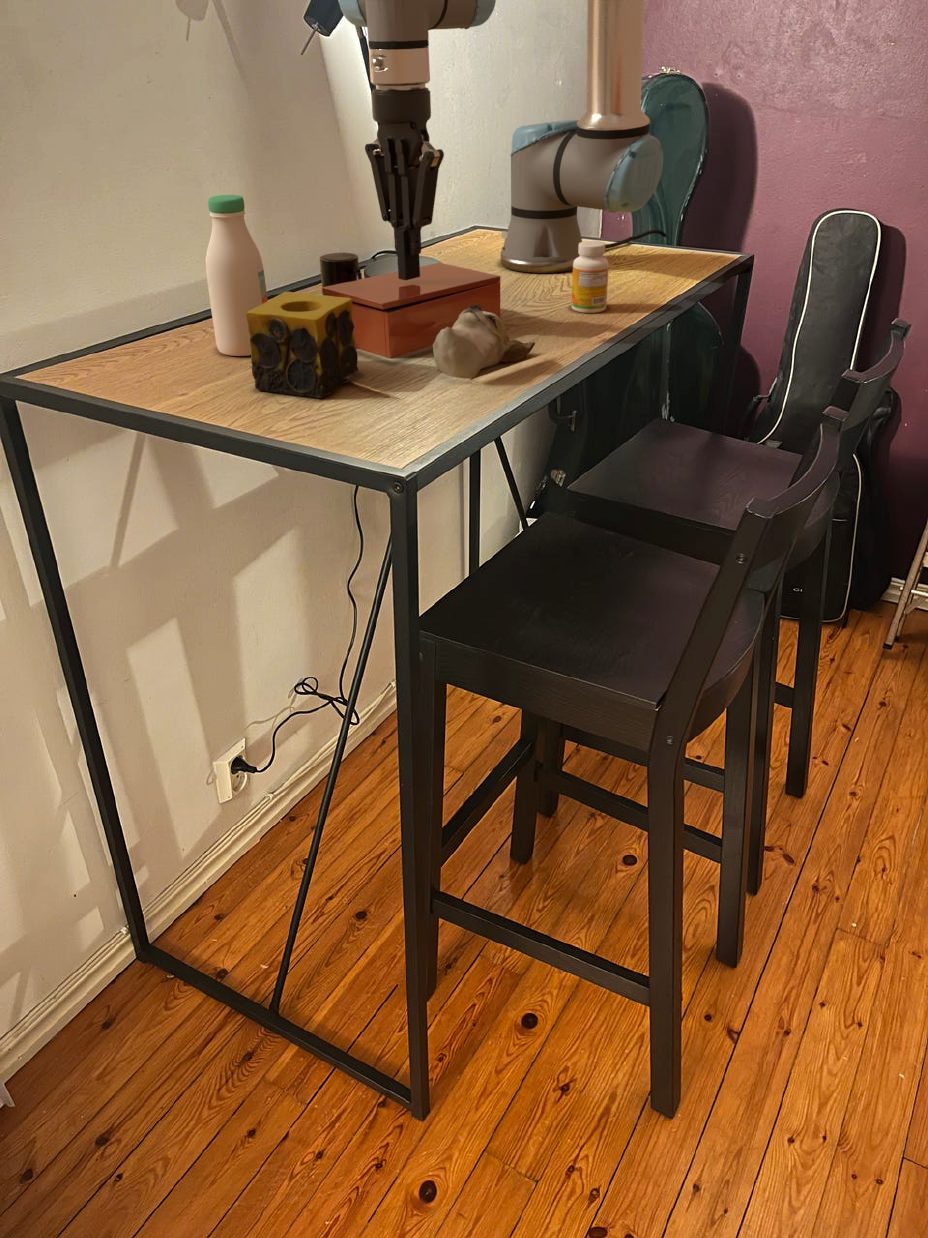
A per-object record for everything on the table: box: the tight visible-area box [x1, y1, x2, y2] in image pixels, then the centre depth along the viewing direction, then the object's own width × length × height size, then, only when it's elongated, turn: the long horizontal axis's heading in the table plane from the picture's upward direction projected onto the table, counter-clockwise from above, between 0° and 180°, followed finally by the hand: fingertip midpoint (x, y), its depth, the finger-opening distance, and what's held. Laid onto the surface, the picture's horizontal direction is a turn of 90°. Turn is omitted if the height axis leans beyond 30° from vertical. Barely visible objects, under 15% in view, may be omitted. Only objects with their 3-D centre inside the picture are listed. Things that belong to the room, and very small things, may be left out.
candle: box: [246, 291, 359, 399], centre depth 127 cm, size 10×10×10 cm
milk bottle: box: [205, 194, 269, 357], centre depth 137 cm, size 8×8×20 cm
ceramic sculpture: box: [432, 305, 536, 381], centre depth 131 cm, size 11×9×15 cm
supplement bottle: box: [571, 240, 610, 314], centre depth 155 cm, size 5×5×10 cm
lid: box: [321, 262, 501, 309], centre depth 142 cm, size 22×13×1 cm, turn 135°
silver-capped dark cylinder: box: [319, 252, 363, 296], centre depth 150 cm, size 8×6×10 cm
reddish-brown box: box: [333, 281, 501, 360], centre depth 144 cm, size 22×13×7 cm, turn 135°
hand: (409, 277), depth 141 cm, fingers closed
